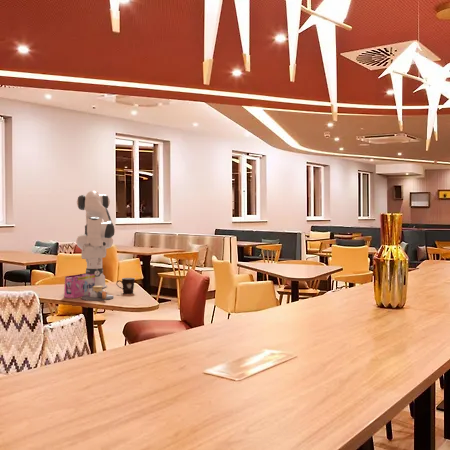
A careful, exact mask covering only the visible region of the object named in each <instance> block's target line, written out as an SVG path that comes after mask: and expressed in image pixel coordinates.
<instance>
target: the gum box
mask: <svg viewBox="0 0 450 450" xmlns="http://www.w3.org/2000/svg"><path fill="white" fill-rule="evenodd" d="M93 286H95V274H89V273H86V272H85V273H80V274H71V275H66V276H64V290H63V292H64V293H63V294H64V295H63V297H64V298H67V299H68V298H69V299H75V298H76V299H77V298H81V297H82V296H85V295H88V292H89V290H90V289H93Z"/></svg>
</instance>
